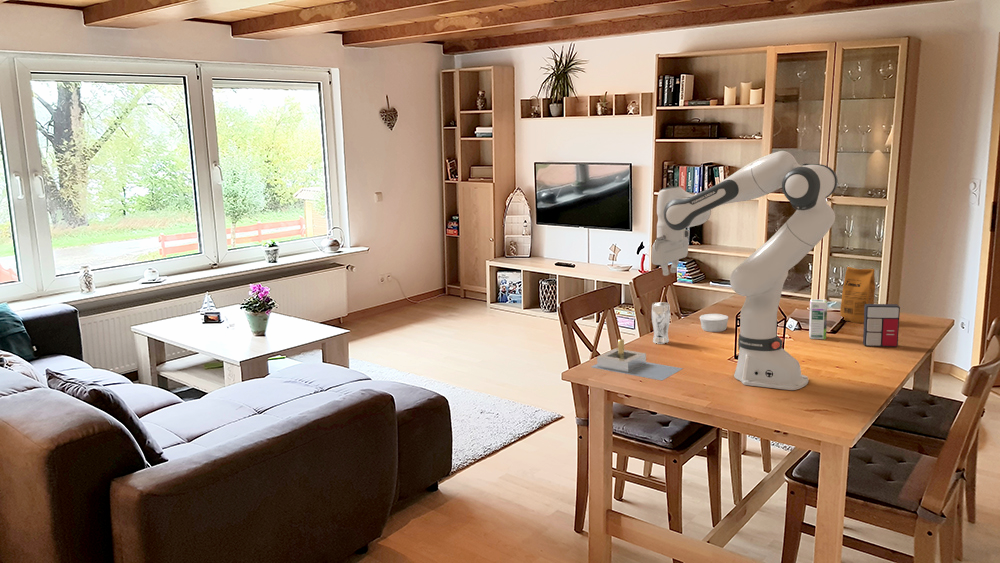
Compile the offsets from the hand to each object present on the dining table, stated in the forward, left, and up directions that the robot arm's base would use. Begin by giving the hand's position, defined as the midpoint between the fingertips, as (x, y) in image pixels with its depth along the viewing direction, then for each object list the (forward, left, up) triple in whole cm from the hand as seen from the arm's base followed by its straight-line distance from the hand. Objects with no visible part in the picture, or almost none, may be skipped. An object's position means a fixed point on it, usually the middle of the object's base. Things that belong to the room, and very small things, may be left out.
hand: (669, 273), depth 261 cm
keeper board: (+3, +17, -31) cm, 36 cm away
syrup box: (-33, -56, -31) cm, 72 cm away
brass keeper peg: (+9, +18, -30) cm, 36 cm away
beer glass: (+14, -20, -31) cm, 40 cm away
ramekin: (+5, -48, -32) cm, 58 cm away
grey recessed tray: (+9, +18, -30) cm, 36 cm away
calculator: (-55, -56, -31) cm, 85 cm away
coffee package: (-38, -90, -31) cm, 103 cm away
